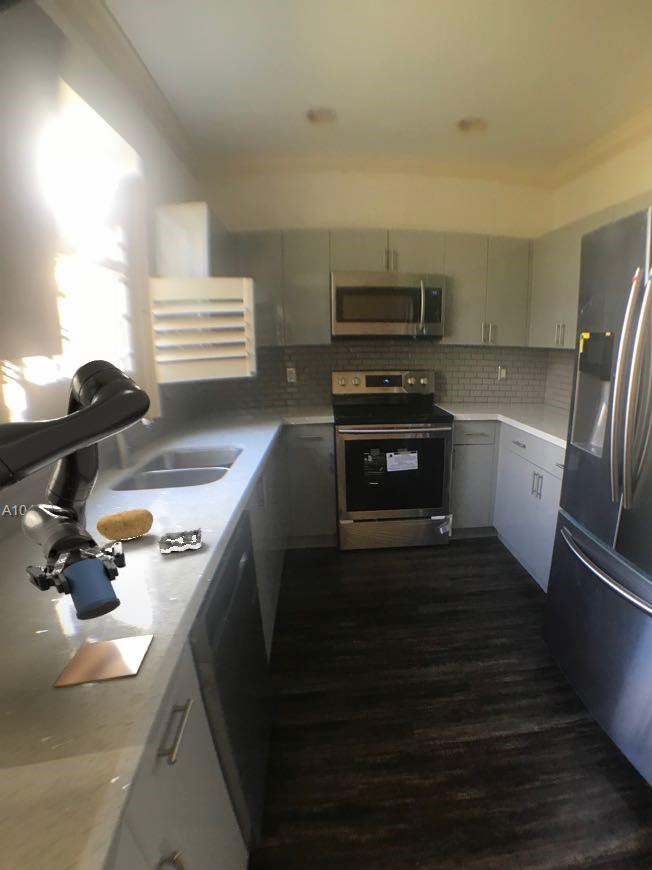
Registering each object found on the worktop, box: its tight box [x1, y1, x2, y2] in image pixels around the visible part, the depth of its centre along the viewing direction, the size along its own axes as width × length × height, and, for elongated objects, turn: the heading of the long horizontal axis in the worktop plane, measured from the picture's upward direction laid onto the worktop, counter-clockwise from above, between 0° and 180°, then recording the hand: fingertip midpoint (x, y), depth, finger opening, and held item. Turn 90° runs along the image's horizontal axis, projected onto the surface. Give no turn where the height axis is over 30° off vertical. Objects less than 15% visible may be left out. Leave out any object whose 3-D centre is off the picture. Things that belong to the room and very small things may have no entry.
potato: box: [95, 508, 154, 541], centre depth 127 cm, size 10×14×8 cm
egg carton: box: [157, 527, 203, 550], centre depth 121 cm, size 11×8×4 cm
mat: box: [54, 634, 155, 689], centre depth 78 cm, size 12×11×1 cm
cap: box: [63, 559, 121, 621], centre depth 70 cm, size 6×6×8 cm
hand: (90, 581), depth 69 cm, fingers closed on cap, 5 cm apart
